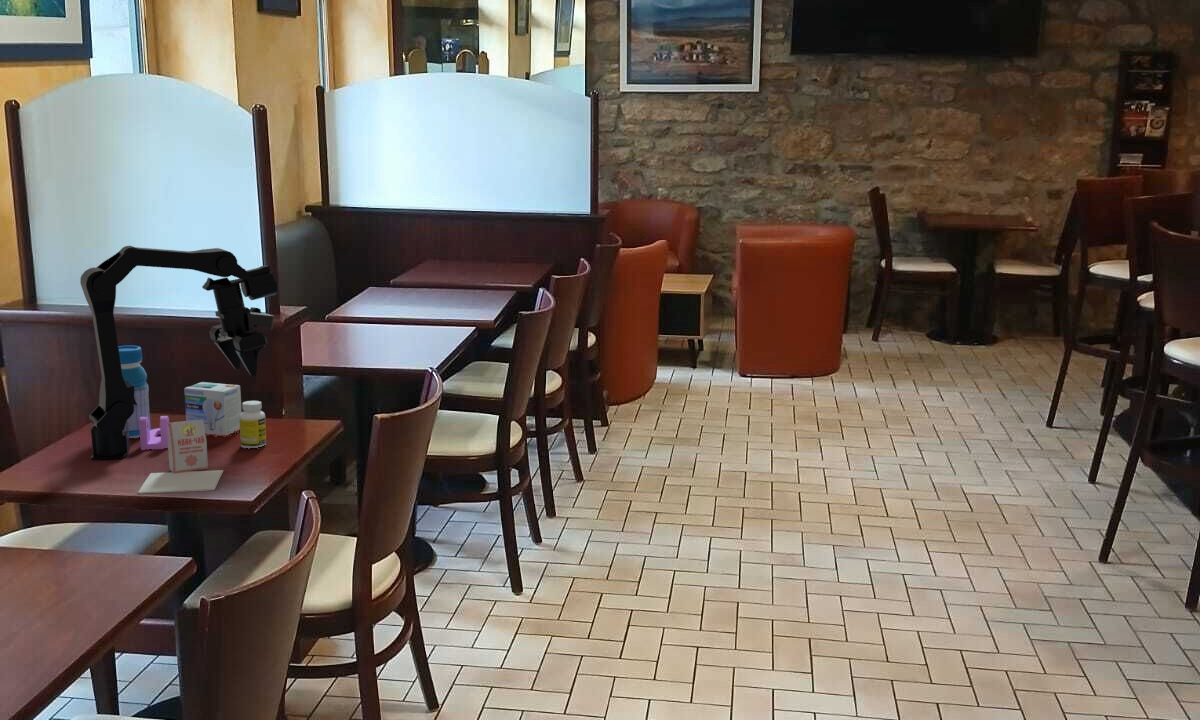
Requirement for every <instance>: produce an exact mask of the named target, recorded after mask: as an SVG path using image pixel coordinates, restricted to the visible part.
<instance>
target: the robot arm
mask: <svg viewBox="0 0 1200 720" xmlns="http://www.w3.org/2000/svg"><path fill="white" fill-rule="evenodd" d="M138 266H139V267H151V268H165V269H178V270H179V269H183V270H193V271H197V272H201V273H204V274H208V275H213V276H216V277H221V278H218V279H213V278H211V277H207V280H206V281H205V282H204V283H203V285H202V286H201V288H202V289H203V290H205V291H207V292H208V291H209V292H210V291H213V296H214V300H215V305H216V307H217V311H215V312H214V313H215V316H216V317H217V318H219V321H220V324H217V325H213V326H211V327H210V330H209V338H210V340H212V341H213V343H214V345H216V347H217V348H218V350H220V351H221V353H222V354H223V355H224V357H225V358H226V359H227V361H228V362H229V363H230V364H231V366H232V367H233V369H234V370H237V371H238V370H240V369H241V363H242V364H243V366H244V368H245V369H246V371H247V372H248V373H249V375H250V376H251V377H256V376H257V374H258V373H257V371H258V359H259V353H260V351H261V350H262V349H263V348H265V347H266V345H268V338H267V335H266V334H264V333H263V332H261V331H258V330H256V328H257V329H266V330H268V331H270V330H271V331H272V330H273V328H274V327H273V326H274V319H275V315H273V314H269V313H266V312H262V311H261V308H259V307H252V306H251V307H250V308H249V307H246V306H245V303H244V297H245V298H248V299H249V300H250V301H255V300H259V299H263V298H267V297H271V296H275V295H277V294H278V284H277V280H275V276H274V275H273V273H272V271H271V267H270V266H269V265H267V264H264V265H261V266H259V267H255V268H251V269H247V270H246V268H243V267H242V266H241V265H240V264H239V263H238V259H237V257H236V256H235V255H234V254H233V253H232V252H230V251H229V250H225V249H222V248H220V247H218V248H217V247H215V248H202V249H197V250H190V251H188V250H175V249H163V248H148V247H135V246H132V245H125V246H123V247H122V248H120V250H119V251H118V252H116V253H115V254H114V255H112V256H111V257H109V258H107V259H106V260H103V262H102V263H100V264H99V265H98V266H97V267H90V268H88V269H86V270H84V271H83V273H82V274H81V276H80V281H79V282H80V286H81V290H82V292H83V294H84V297H85V301H86V303H87V304H88V306H89V310H90V311H91V314H92V322H93V328H94V335H95V341H96V347H97V353H98V361H99V367H100V373H101V381H100V386H99V397H98V398H99V399H98V405H97V406H96V407H95V408H94V409H93V410H92V412H91V413H90V414H88V417H89V420H90V422H91V423H92V425H93V427H92V428H90V433H91V434H90V435H91V447H92V455H91V456H90V460H110V459H111V460H113V459H124V458H125V457H126V456H127V454H128V453H129V452H130V450H131V446H130V439H129V432H128V431H127V432H126V427H125V424H126V421H127V419H129V418H130V417H131V415H132V414H133V413H134V405H137V403H136V401H135V398H134V386H133V385H132V384H131V383H130V382H129V381H126V382H125V381H124V379H123V375H122V368H121V361H120V355H119V348H118V346H119V343H118V337H117V336H118V334H117V328H116V322H115V315H114V313H115V311H114V310H115V305H116V298H117V297H116V296H117V286H118V284H119V283H121V282H122V281H123V280H125V278H126V277H127V276H128V275H129V274H130V273H131V272H132V271H133V270H134V269H135V268H136V267H138ZM231 276H232V277H235V278H236V279H231V280H230V279H229V278H228V277H231ZM243 296H244V297H243Z"/></svg>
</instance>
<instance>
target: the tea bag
mask: <svg viewBox="0 0 1200 720" xmlns="http://www.w3.org/2000/svg"><path fill="white" fill-rule="evenodd" d="M207 447H208V445H207V435H205V428H204V420H203V419H201V420H192V421H186V420H183V421H174V422H169V428H168V450H167V451H168V465H169V471H170V472H173V473H180V472H190V471H205V470H208V469H209V466H208V465H209V463H208V448H207Z"/></svg>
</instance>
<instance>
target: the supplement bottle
mask: <svg viewBox="0 0 1200 720" xmlns="http://www.w3.org/2000/svg"><path fill="white" fill-rule="evenodd" d="M241 409H242V410H243V411H241V412H242V413H241V414H240V418H239V419H240V432H239V436H240V446H241V448H243V449H246V448H248V450H250V448H257V449H259V448H258V447H262V446H264V445H265V446H266V445H267V431H266V430H267V428H266V414H265V412H264V411H262V401H259V400H246V401H243V402H241ZM265 446H264V447H265ZM262 448H263V447H262Z"/></svg>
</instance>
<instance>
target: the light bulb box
mask: <svg viewBox="0 0 1200 720" xmlns="http://www.w3.org/2000/svg"><path fill="white" fill-rule="evenodd" d="M183 391H184V405H185V421H192V420H201V419H203V420H204V428H205V433H206V434H216V435H228V434H230V433H233V432H234V431H237V430H239V429H240V419H239V418H240V414H241V413H242V412H243V411H242V395H241V385H239V384H231V383H230V384H226V383H215V382H206V381H201V382H198V383H196V384H195V383H194V384H193V385H189V386H186V387H184V389H183Z"/></svg>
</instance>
